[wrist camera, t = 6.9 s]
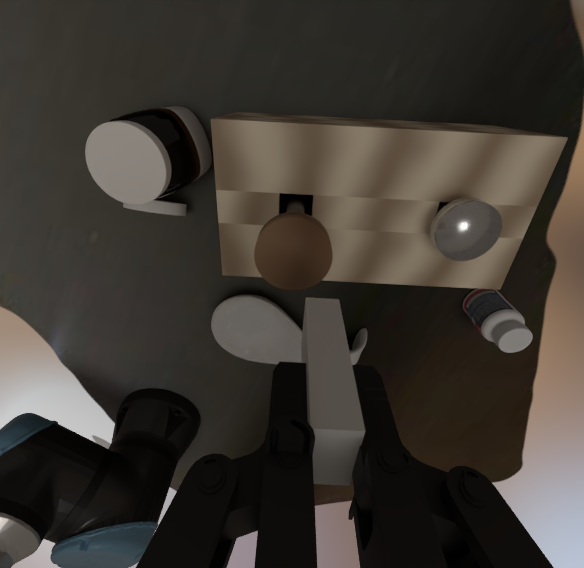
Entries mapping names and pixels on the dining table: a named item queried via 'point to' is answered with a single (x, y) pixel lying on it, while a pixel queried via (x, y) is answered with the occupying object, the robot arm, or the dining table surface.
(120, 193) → the spread jar
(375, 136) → the stand
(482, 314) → the pill bottle
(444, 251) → the grey rounded part
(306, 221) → the walnut plunger
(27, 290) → the dining table surface
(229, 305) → the spoon rest
